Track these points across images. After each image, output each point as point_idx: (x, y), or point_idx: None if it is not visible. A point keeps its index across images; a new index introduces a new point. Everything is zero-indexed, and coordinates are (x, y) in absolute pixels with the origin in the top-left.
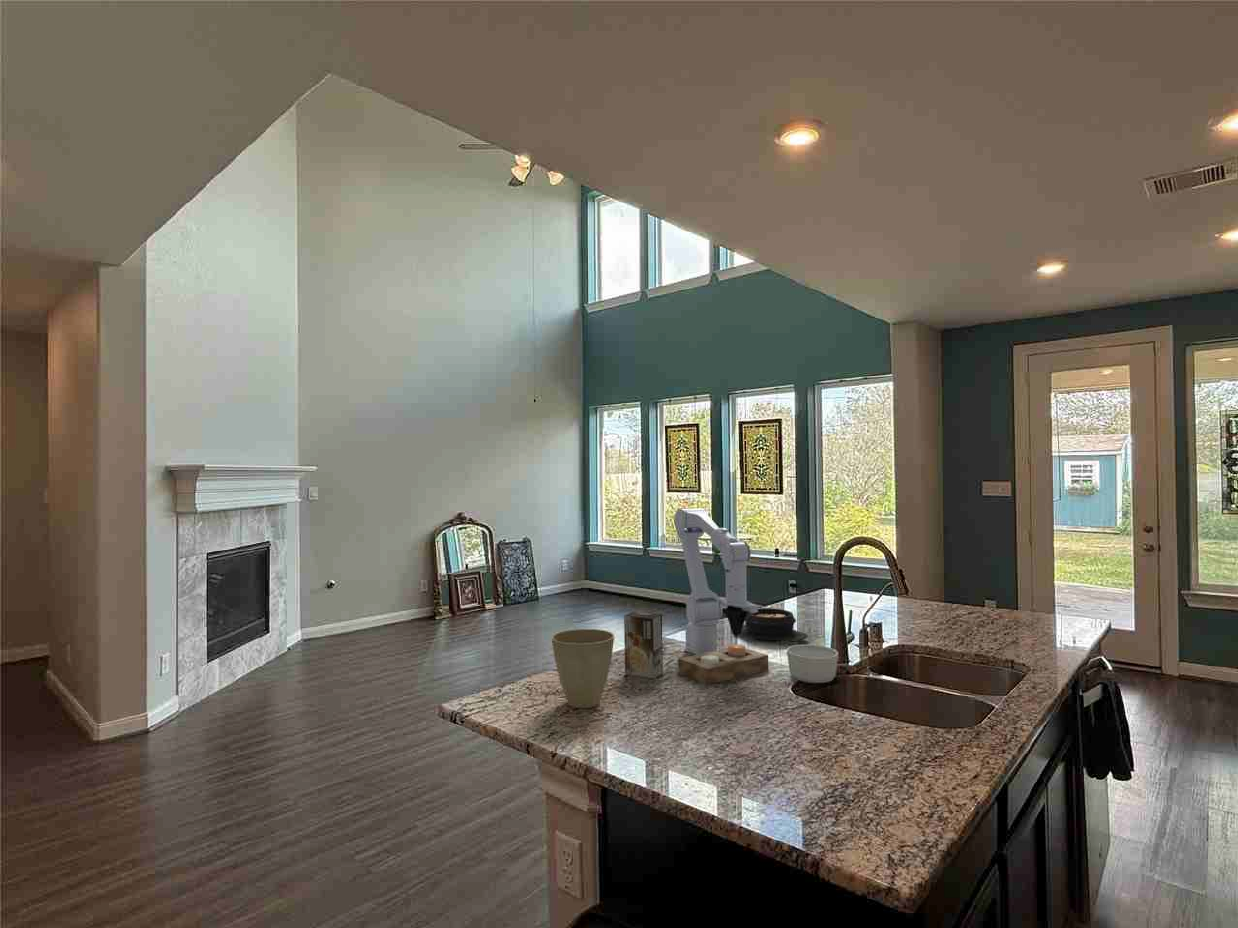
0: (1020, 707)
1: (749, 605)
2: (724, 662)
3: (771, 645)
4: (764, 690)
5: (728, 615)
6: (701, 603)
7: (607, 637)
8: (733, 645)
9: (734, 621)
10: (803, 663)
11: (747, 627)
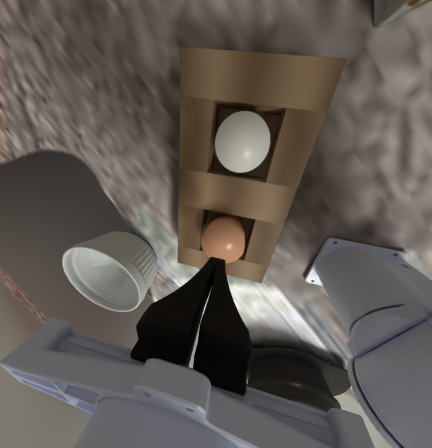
0: (6, 278)
1: (20, 368)
2: (197, 155)
3: (260, 338)
4: (111, 148)
5: (218, 309)
6: None
7: None
8: (234, 248)
9: (191, 284)
10: (90, 241)
11: (317, 375)
